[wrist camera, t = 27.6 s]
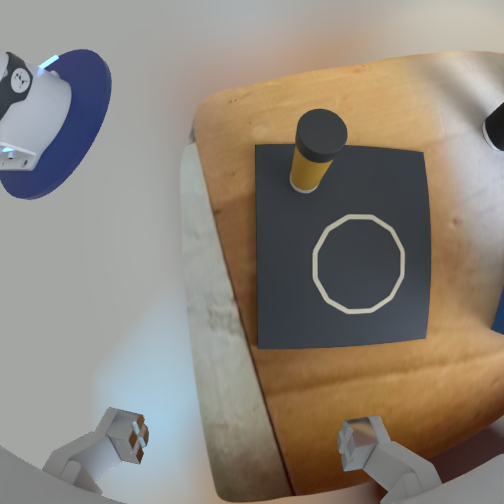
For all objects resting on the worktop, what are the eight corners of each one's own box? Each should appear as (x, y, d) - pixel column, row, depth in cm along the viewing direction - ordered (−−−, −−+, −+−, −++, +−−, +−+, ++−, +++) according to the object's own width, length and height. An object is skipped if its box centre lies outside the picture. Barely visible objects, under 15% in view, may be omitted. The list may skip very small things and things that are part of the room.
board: (258, 347, 30) (257, 349, 29) (255, 146, 30) (254, 144, 29) (423, 337, 28) (426, 338, 28) (421, 153, 28) (423, 151, 28)
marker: (289, 194, 29) (298, 153, 16) (288, 164, 29) (295, 107, 16) (320, 194, 29) (350, 155, 16) (318, 164, 29) (344, 109, 16)
